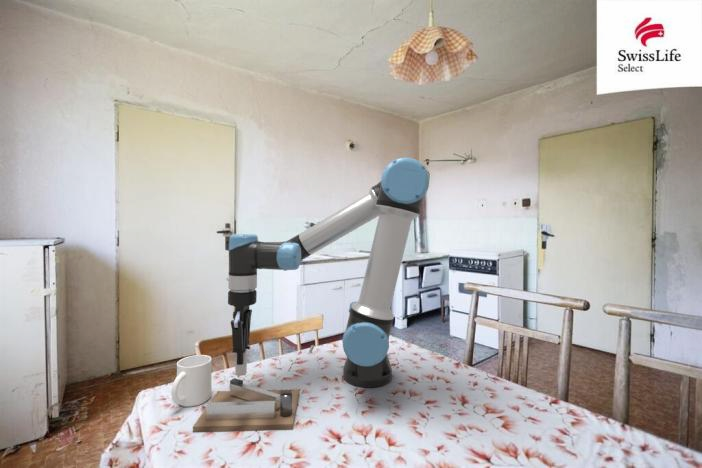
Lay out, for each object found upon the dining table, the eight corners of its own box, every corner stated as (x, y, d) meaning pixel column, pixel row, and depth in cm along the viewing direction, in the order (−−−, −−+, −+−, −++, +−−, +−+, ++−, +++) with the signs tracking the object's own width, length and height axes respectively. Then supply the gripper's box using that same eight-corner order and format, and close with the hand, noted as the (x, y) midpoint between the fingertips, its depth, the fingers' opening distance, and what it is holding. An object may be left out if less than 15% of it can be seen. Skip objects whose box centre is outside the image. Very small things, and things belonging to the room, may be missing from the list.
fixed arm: (292, 410, 80) (292, 388, 80) (291, 417, 77) (291, 395, 77) (211, 412, 79) (211, 390, 78) (206, 420, 76) (206, 396, 75)
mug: (186, 418, 78) (186, 375, 78) (157, 413, 80) (157, 371, 80) (217, 393, 90) (218, 356, 90) (191, 390, 92) (192, 353, 92)
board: (299, 393, 90) (299, 389, 90) (292, 429, 74) (292, 424, 74) (217, 395, 89) (217, 391, 89) (192, 432, 73) (192, 426, 73)
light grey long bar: (280, 406, 81) (280, 391, 81) (276, 409, 80) (276, 394, 80) (234, 392, 88) (234, 378, 88) (229, 394, 86) (229, 380, 86)
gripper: (235, 285, 97) (234, 364, 98) (220, 294, 84) (219, 385, 85) (261, 285, 98) (259, 364, 98) (250, 294, 85) (248, 385, 85)
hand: (240, 374), depth 91 cm, fingers closed
